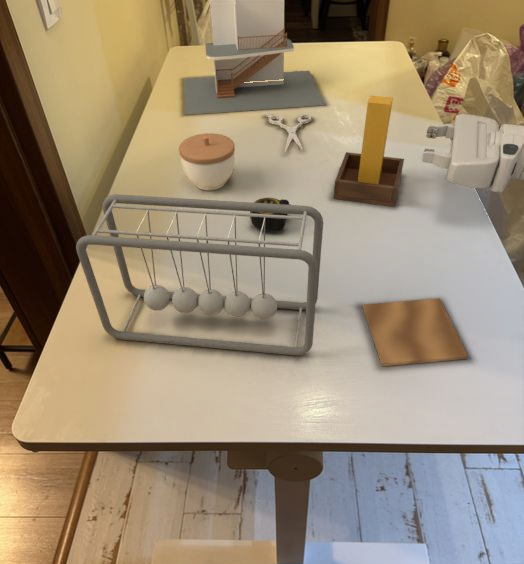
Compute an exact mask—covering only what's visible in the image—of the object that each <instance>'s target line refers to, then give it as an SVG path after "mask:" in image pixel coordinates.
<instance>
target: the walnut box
mask: <svg viewBox="0 0 524 564" xmlns="http://www.w3.org/2000/svg"><path fill="white" fill-rule="evenodd" d="M360 160H361V153H357V152H349V151H348V152H347V151H346V152H345V153H344V156H343V159H342V162H341V165H340V166H339V169H338V173H337V175H336V177H335V180H334V189H333V200H340V201H348V202H355V203H363V204H369V205H377V206H383V207H384V206H386V207H391V208H394V207H395V205H396V201H397V196H398V192H399V187H400V183H401V177H402V174H403V168H404V164H405V163H404V162H405V158H402V157H401V158H400V157H391V156H384V158H383V164H382V170H381V177H380V182H379V184H373V183H365V182H358V176H359V168H360Z"/></svg>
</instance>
